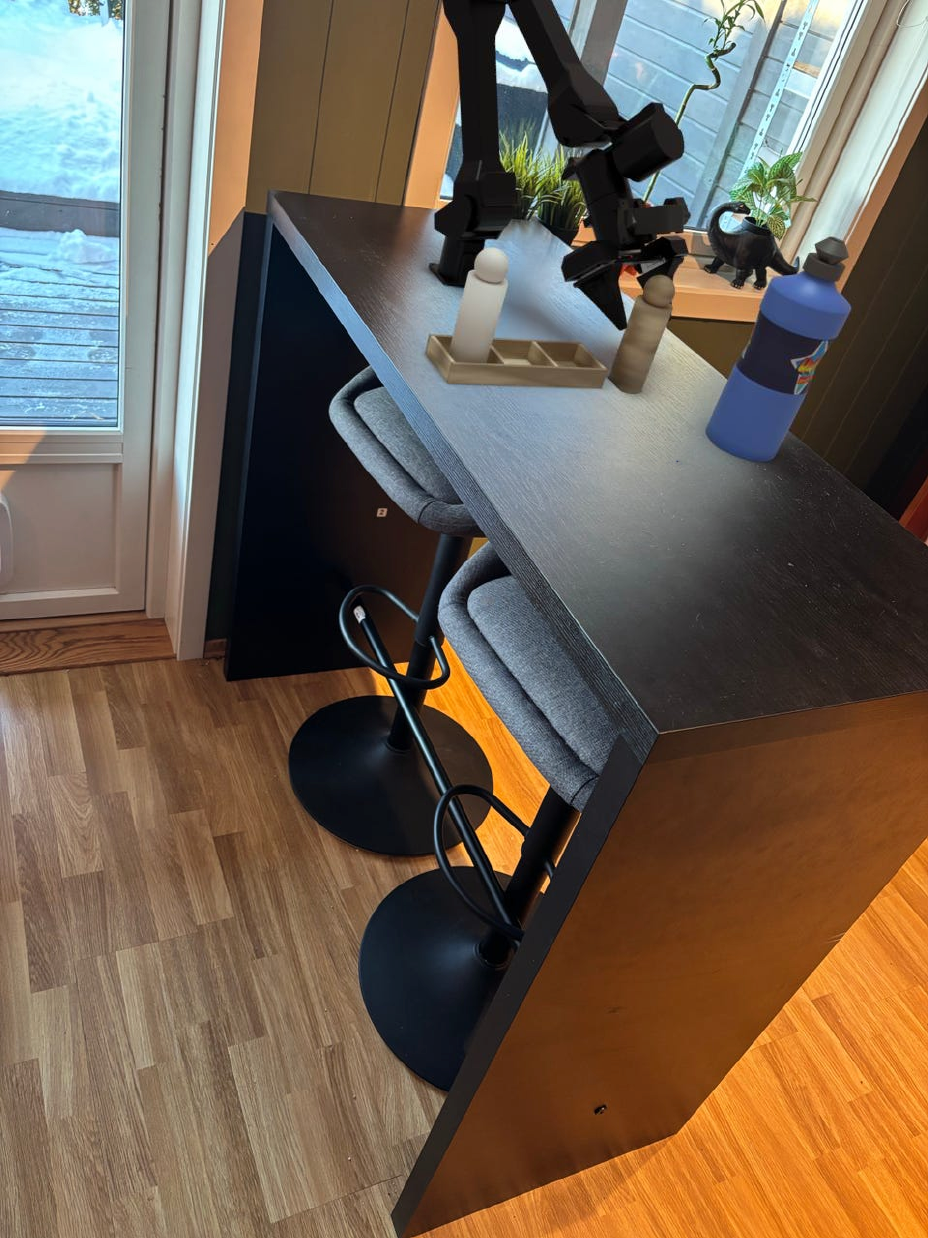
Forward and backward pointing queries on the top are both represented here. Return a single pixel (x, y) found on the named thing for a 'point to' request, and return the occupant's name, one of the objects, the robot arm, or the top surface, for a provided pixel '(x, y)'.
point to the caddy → (521, 364)
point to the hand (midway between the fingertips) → (645, 325)
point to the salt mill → (480, 307)
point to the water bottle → (781, 356)
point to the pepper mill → (643, 335)
